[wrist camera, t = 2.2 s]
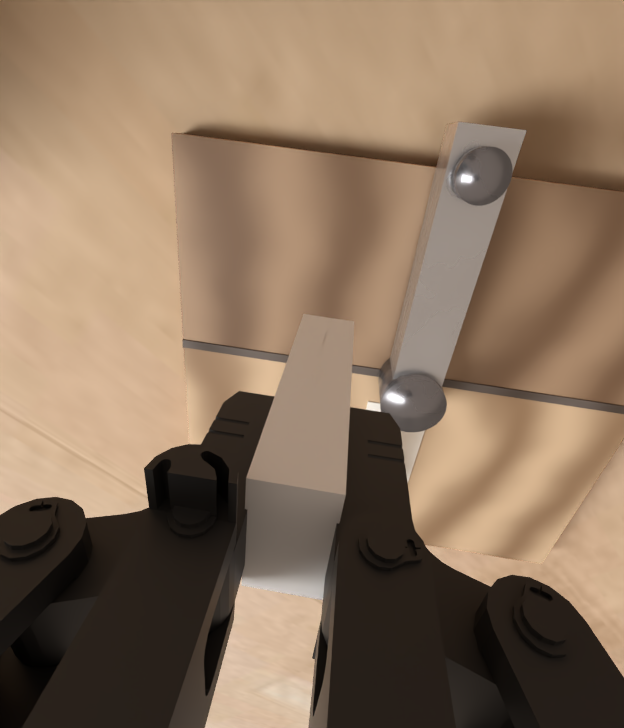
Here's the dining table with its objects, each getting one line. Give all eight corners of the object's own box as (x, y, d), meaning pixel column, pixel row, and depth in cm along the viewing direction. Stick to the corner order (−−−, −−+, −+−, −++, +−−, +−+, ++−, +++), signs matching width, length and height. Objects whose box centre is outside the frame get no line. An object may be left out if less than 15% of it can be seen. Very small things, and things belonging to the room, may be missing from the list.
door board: (198, 492, 38) (179, 533, 34) (182, 133, 23) (145, 131, 19) (534, 548, 37) (555, 597, 33) (746, 207, 22) (832, 221, 18)
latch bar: (428, 405, 28) (437, 440, 25) (373, 396, 29) (374, 431, 25) (515, 133, 20) (547, 131, 17) (436, 122, 20) (451, 119, 17)
